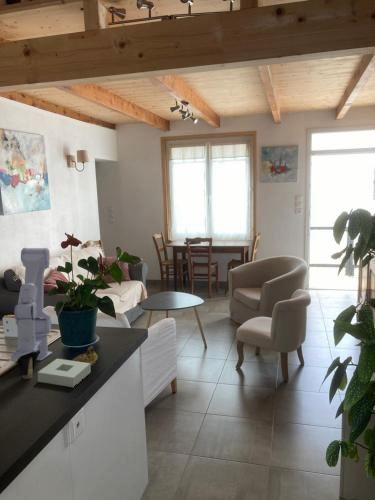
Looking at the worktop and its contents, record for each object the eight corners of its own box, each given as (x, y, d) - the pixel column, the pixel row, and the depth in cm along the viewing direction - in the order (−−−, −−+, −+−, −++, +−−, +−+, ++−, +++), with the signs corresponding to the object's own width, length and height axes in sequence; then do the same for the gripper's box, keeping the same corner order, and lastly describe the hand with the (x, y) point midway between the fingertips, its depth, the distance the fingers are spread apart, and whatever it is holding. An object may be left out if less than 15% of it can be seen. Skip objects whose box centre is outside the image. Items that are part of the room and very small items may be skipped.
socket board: (37, 381, 140) (37, 372, 139) (57, 367, 151) (57, 358, 151) (73, 387, 136) (73, 377, 136) (90, 372, 148) (90, 363, 147)
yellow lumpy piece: (88, 373, 150) (103, 357, 164) (89, 362, 149) (104, 346, 163) (65, 369, 151) (81, 353, 165) (66, 357, 150) (82, 342, 165)
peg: (21, 378, 142) (20, 359, 141) (26, 374, 145) (26, 356, 144) (29, 379, 141) (28, 360, 140) (34, 375, 144) (34, 357, 143)
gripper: (23, 344, 133) (24, 383, 135) (48, 330, 147) (49, 365, 149) (4, 342, 135) (6, 380, 137) (31, 328, 149) (32, 363, 151)
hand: (27, 372), depth 143 cm, fingers closed on peg, 3 cm apart
